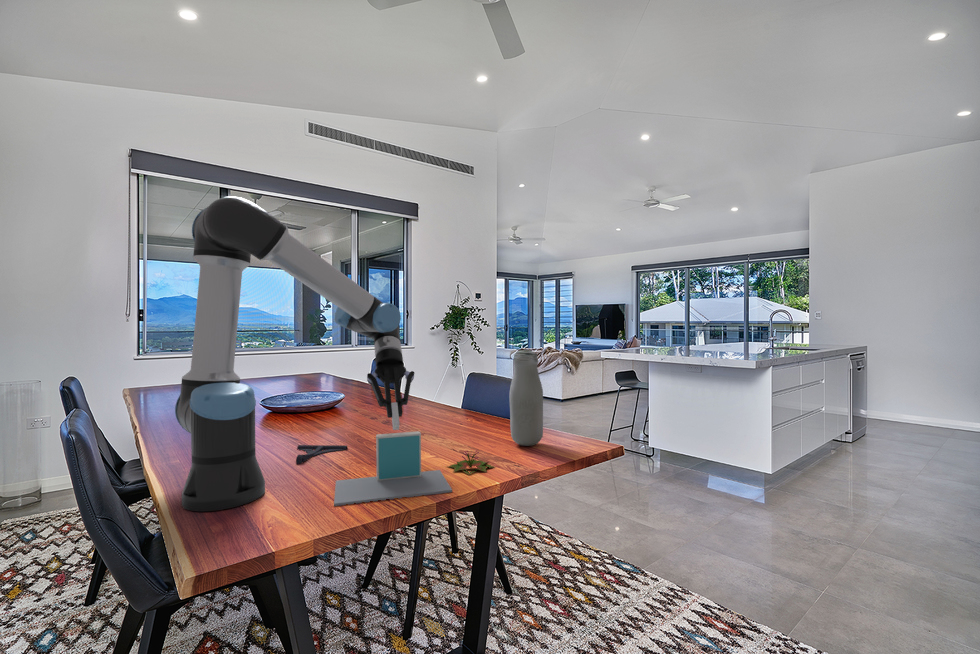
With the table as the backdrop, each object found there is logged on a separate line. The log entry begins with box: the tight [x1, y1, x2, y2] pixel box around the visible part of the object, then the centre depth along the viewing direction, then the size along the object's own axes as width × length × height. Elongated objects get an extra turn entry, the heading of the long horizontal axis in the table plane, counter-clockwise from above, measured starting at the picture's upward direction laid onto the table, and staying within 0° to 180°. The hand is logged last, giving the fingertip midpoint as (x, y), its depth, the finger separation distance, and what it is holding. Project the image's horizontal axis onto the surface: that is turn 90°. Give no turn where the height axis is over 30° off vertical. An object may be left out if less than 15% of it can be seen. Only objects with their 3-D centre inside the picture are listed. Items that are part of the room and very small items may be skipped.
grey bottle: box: [508, 349, 544, 447], centre depth 136 cm, size 10×10×28 cm
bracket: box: [295, 444, 349, 465], centre depth 127 cm, size 14×15×3 cm
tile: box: [375, 431, 422, 481], centre depth 107 cm, size 10×3×10 cm, turn 107°
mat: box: [333, 469, 453, 507], centre depth 102 cm, size 24×14×1 cm, turn 107°
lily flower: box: [445, 448, 495, 476], centre depth 115 cm, size 12×12×5 cm
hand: (396, 426), depth 115 cm, fingers closed
